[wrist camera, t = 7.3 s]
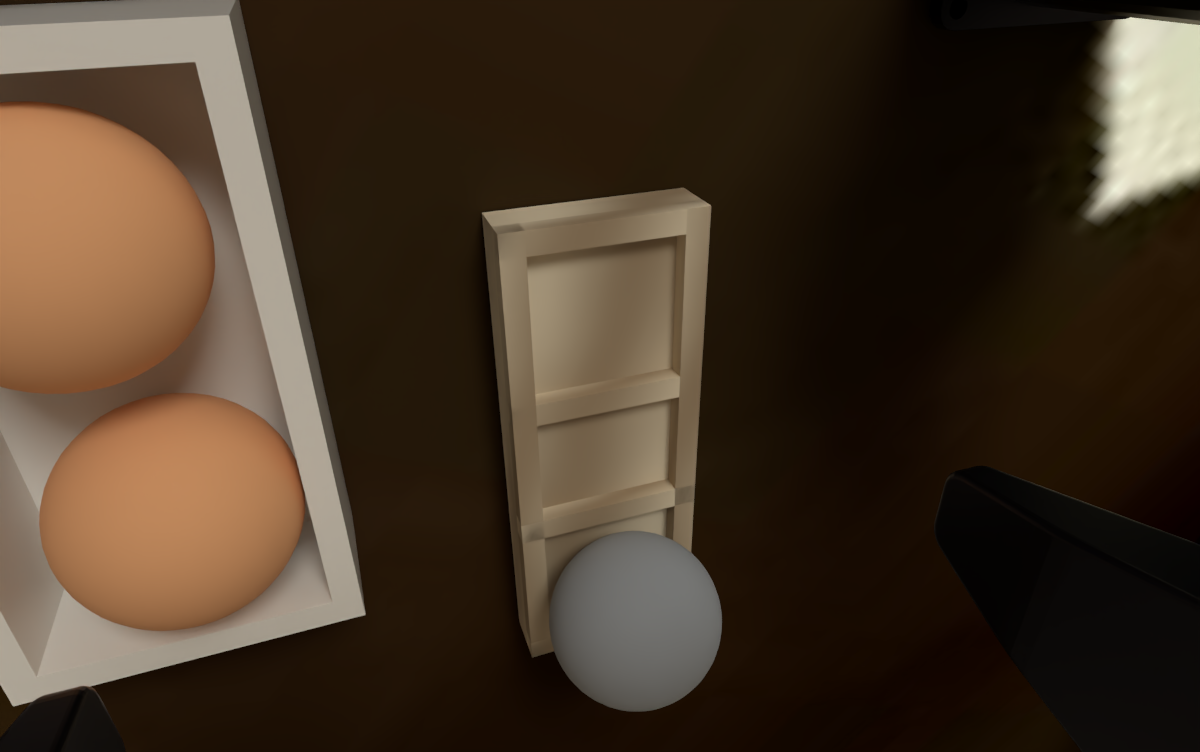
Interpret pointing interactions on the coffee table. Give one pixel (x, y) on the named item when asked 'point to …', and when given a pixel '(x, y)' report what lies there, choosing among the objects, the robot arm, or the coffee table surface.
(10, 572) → the ceramic trough
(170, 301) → the terracotta ball
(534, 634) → the frame
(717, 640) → the ball slate grey
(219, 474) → the terracotta ball
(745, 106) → the coffee table surface
